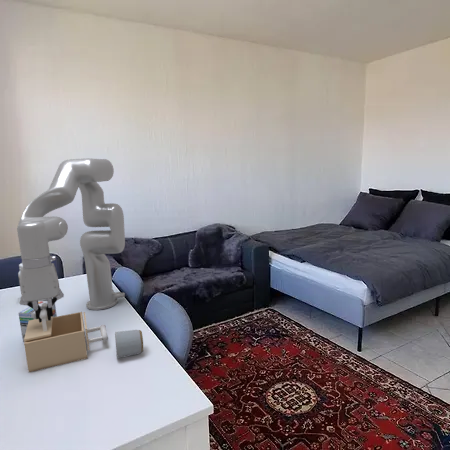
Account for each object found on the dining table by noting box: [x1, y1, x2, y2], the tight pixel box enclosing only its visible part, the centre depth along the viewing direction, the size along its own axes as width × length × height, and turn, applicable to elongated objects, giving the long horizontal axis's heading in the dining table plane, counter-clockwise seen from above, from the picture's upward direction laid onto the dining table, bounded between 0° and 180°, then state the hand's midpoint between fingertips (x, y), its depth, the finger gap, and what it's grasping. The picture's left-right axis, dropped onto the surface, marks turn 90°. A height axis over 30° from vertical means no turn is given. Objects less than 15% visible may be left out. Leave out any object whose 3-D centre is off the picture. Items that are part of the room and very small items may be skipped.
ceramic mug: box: [114, 329, 144, 359], centre depth 113 cm, size 11×8×8 cm
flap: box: [24, 303, 53, 341], centre depth 110 cm, size 7×14×6 cm, turn 23°
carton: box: [23, 311, 109, 373], centre depth 115 cm, size 23×16×9 cm
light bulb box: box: [18, 300, 58, 343], centre depth 126 cm, size 11×7×11 cm, turn 168°
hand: (45, 319), depth 111 cm, fingers closed on flap, 2 cm apart
